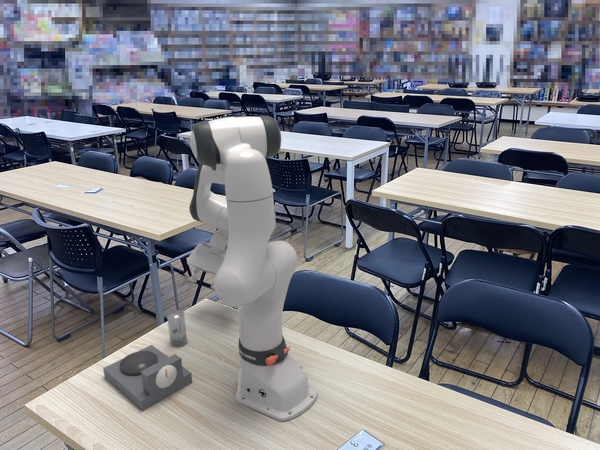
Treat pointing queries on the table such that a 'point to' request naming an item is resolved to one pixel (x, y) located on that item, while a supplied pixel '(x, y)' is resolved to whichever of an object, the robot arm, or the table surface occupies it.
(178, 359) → the scale
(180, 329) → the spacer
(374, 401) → the table surface
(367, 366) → the table surface
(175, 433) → the table surface
